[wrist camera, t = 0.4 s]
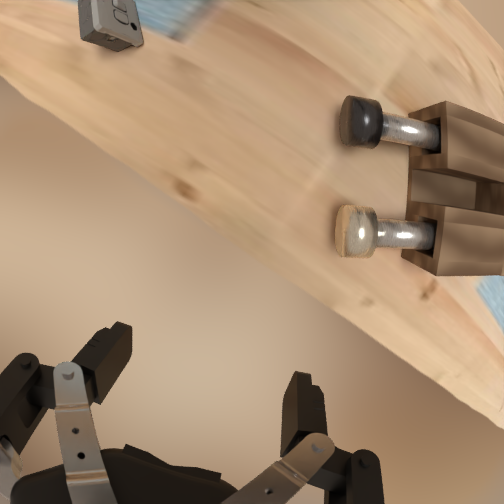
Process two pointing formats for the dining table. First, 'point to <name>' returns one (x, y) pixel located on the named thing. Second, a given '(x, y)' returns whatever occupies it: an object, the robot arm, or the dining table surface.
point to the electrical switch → (109, 23)
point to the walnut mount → (459, 193)
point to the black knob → (383, 126)
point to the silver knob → (378, 233)
